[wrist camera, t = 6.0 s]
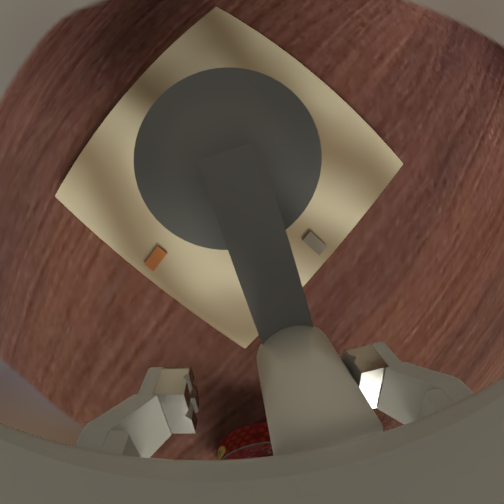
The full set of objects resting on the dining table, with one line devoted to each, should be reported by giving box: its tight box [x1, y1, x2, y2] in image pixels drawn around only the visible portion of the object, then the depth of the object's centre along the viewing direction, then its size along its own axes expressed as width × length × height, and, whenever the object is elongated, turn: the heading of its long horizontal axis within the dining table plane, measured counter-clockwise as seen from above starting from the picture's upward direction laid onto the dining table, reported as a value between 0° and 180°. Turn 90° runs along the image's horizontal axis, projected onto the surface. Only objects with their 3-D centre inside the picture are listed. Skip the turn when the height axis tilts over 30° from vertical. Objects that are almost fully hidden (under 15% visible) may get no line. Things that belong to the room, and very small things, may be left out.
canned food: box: [217, 422, 273, 460], centre depth 23 cm, size 11×10×10 cm
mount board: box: [55, 7, 403, 348], centre depth 16 cm, size 18×18×7 cm
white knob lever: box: [134, 67, 383, 456], centre depth 9 cm, size 7×13×8 cm, turn 18°
